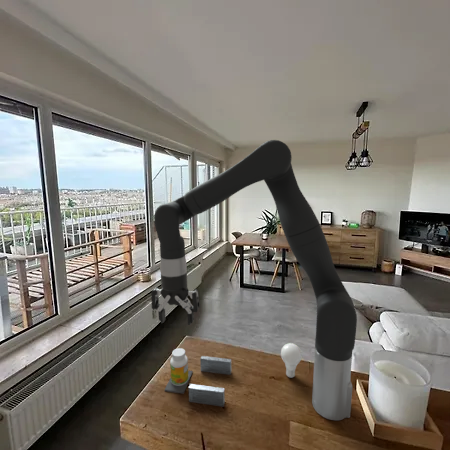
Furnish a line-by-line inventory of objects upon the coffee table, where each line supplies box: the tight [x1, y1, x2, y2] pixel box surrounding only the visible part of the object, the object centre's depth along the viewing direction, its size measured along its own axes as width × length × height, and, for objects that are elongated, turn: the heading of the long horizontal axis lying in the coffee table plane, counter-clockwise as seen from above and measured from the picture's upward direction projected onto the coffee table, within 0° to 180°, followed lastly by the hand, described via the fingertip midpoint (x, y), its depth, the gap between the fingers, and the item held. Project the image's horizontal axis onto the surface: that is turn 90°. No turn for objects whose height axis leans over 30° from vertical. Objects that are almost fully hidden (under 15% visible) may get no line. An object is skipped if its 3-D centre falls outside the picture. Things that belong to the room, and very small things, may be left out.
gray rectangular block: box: [164, 370, 193, 395], centre depth 84 cm, size 6×9×1 cm, turn 170°
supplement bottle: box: [169, 347, 189, 386], centre depth 83 cm, size 5×5×10 cm
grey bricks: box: [188, 355, 232, 407], centre depth 82 cm, size 10×14×4 cm
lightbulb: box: [280, 342, 303, 378], centre depth 85 cm, size 6×6×11 cm
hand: (176, 322), depth 81 cm, fingers open, 8 cm apart
